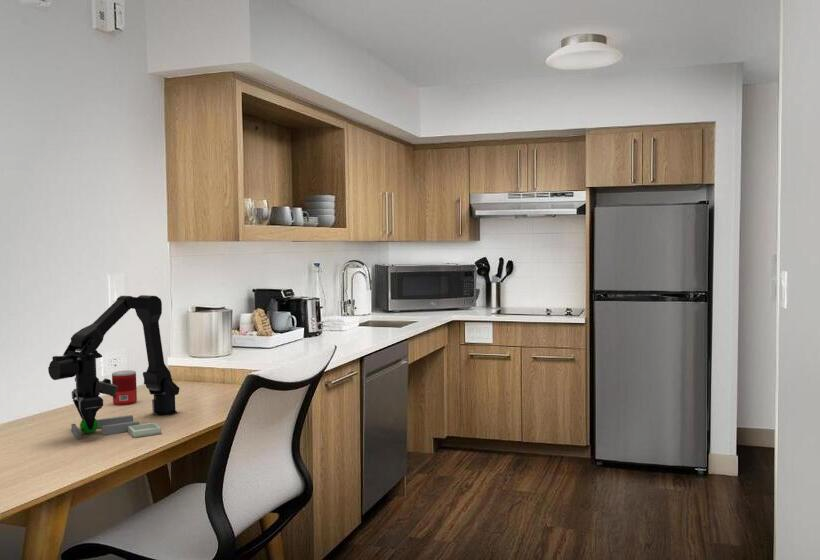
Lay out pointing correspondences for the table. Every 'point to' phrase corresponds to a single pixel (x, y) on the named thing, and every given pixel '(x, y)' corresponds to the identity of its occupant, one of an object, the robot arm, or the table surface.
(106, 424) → the channel
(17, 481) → the table surface
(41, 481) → the table surface
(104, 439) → the table surface
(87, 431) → the polyhedron
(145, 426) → the dish
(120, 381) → the canned food
